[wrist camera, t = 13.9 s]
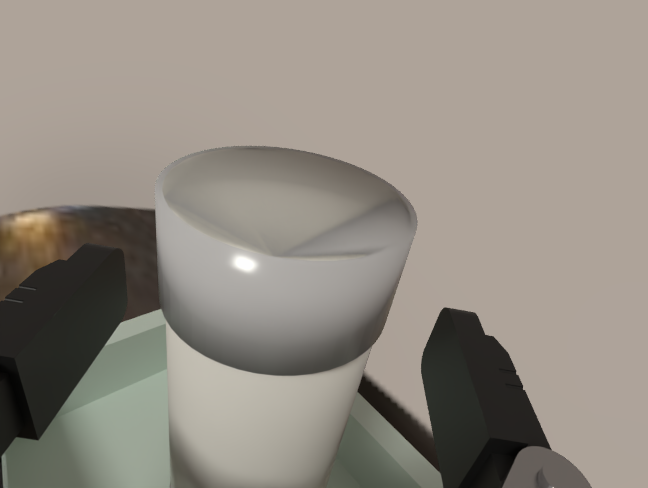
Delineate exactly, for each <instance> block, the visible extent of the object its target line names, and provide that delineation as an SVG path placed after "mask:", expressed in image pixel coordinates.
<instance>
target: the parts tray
mask: <svg viewBox="0 0 648 488" xmlns="http://www.w3.org/2000/svg"><path fill="white" fill-rule="evenodd" d="M5 456H6V463H7V478H8V488H170V452H169V417H168V381H167V346H166V319H165V318H164V315H163V313H162V310H161V309H160V310H157V311H154V312H151V313H148V314H145V315H142V316H139V317H136V318H133V319H130V320H127V321H125V322H122V323H120V324H119V326H118V327H117V328H116V330H115V331H114V333H113V334H112V336H111V337H110V339H109V340H108V341H107V343H106V344H105V346H104V347H103V349H102V350H101V351H100V353H99V354H98V356H97V357H96V359H95V360H94V362H93V363H92V364H91V366H90V367H89V369H88V370H87V372H86V373H85V374H84V376H83V377H82V379H81V380H80V382H79V383H78V385H77V386H76V387H75V389H74V390H73V392H72V393H71V395H70V396H69V397H68V399H67V400H66V402H65V403H64V405H63V406H62V408H61V409H60V410H59V412H58V413H57V415H56V416H55V418H54V419H53V420H52V422H51V423H50V425H49V426H48V428H47V429H46V431H45V432H44V433H43V435H42V436H41V438H40V439H39V441H38V440H31V439H25V438H18V437H16V438H15V439H14V441H13V442H12V443H11V445H10V446H9V447H8V449H7V450H6V451H5ZM326 488H443V483H442V478H441V474H440V473H439V472H438V471H437V470H436V469H435V468H434V467H433V466H432V465H431V464H430V463H429V462H428V461H427V460H426V459H425V458H424V457H423V456H422V455H421V454H420V453H419V452H418V451H417V450H416V449H415V448H414V447H413V446H412V445H411V444H410V443H409V442H408V441H407V440H406V439H405V438H404V437H403V436H402V435H401V434H400V433H399V432H398V431H397V430H396V429H395V428H394V427H393V426H392V425H391V424H390V423H389V422H388V421H386V420H385V419H384V418H383V417H382V416H381V415H380V414H379V413H378V412H377V411H376V410H375V409H374V408H373V407H372V406H371V405H370V404H369V403H368V402H367V401H366V400H365V399H364V398H363V397H362V396H361V395H360V394H359V393H358V392H357V394H356V397H355V400H354V403H353V406H352V409H351V412H350V415H349V418H348V422H347V425H346V428H345V431H344V434H343V437H342V440H341V443H340V446H339V449H338V452H337V456H336V459H335V462H334V465H333V468H332V471H331V474H330V477H329V480H328V483H327V486H326Z"/></svg>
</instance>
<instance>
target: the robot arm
mask: <svg viewBox="0 0 648 488" xmlns="http://www.w3.org/2000/svg"><path fill="white" fill-rule="evenodd" d="M126 307H127V286H126V274H125V262H124V254H123V251H122V250H121V249H119V248H114V247H108V246H102V245H97V244H91V243H86V244H84V245H83V246H82V247H81V248H79V249H78V250H77V251H76V252H75V253H74V254H73V255H72V256H71V257H70V258H69V259H68V260H67V261H66V260H60V259H59V260H57V261H55V262H53V263H50V264H48V265H46V266H44V267H42V268H40V269H38V270H36V271H35V272H34V273H32V274H31V275H30V276H29V277H28V278H27V279H26V280H24V281H23V282H22V283H21V284H20V285H19V288H15V289H14V290H13V291H12V292H11V293H10V294H9V295H7V296H6V297H5V300H4V301H1V302H0V488H8V478H7V463H6V456H5V451H6V450H7V449H8V447H9V446H10V445H11V443H12V442H13V441H14V439H15V438H16V437H18V438H25V439H31V440H38V441H39V439H40V438H41V436H42V435H43V433H44V432H45V431H46V429H47V428H48V426H49V425H50V423H51V422H52V420H53V419H54V418H55V416H56V415H57V413H58V412H59V410H60V409H61V408H62V406H63V405H64V403H65V402H66V400H67V399H68V397H69V396H70V395H71V393H72V392H73V390H74V389H75V387H76V386H77V385H78V383H79V382H80V380H81V379H82V377H83V376H84V374H85V373H86V372H87V370H88V369H89V367H90V366H91V364H92V363H93V362H94V360H95V359H96V357H97V356H98V354H99V353H100V351H101V350H102V349H103V347H104V346H105V344H106V343H107V341H108V340H109V339H110V337H111V336H112V334H113V333H114V331H115V330H116V328H117V327H118V326H119V324H120V323H121V321H122V319H123V317H124V314H125V311H126ZM421 374H422V379H423V384H424V390H425V395H426V400H427V405H428V410H429V415H430V421H431V426H432V431H433V436H434V442H435V447H436V452H437V457H438V462H439V468H440V473H441V478H442V483H443V488H592V487H591V486H590V484H589V482H588V481H587V480H586V478H585V477H584V476H583V474H582V473H581V472H580V471H579V470H578V469H577V467H575V466H574V465H573V464H572V463H571V462H570V461H568V460H567V459H566V458H565V457H563V456H561V455H560V454H558V453H556V452H554V451H552V450H551V448H550V445H549V443H548V441H547V439H546V437H545V434H544V432H543V430H542V428H541V425H540V423H539V421H538V419H537V416H536V414H535V412H534V410H533V407H532V405H531V403H530V401H529V398H528V396H527V394H526V392H525V390H523V385H522V383H521V381H520V378H519V376H518V375H516V370H515V367H514V365H513V363H512V361H511V358H510V356H509V354H508V352H507V351H506V350H505V349H504V348H503V347H502V346H501V345H500V343H499V342H498V341H497V340H496V339H495V338H494V337H493V336H488V335H485V333H484V331H483V328H482V326H481V323H480V321H479V318H478V316H477V315H476V313H473V312H468V311H462V310H457V309H451V308H443V309H442V311H441V312H440V314H439V317H438V319H437V321H436V323H435V326H434V328H433V330H432V333H431V335H430V337H429V340H428V342H427V344H426V347H425V349H424V352H423V356H422V363H421Z"/></svg>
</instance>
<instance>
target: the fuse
mask: <svg viewBox="0 0 648 488" xmlns="http://www.w3.org/2000/svg"><path fill="white" fill-rule="evenodd" d="M155 209H156V236H157V262H158V288H159V301H160V307H161V310H162V313H163V315H164V318H165V319H166V346H167V381H168V417H169V452H170V488H326V486H327V483H328V480H329V477H330V474H331V471H332V468H333V465H334V462H335V459H336V456H337V452H338V449H339V446H340V443H341V440H342V437H343V434H344V431H345V428H346V425H347V422H348V418H349V415H350V412H351V409H352V406H353V403H354V400H355V397H356V394H357V391H358V388H359V385H360V381H361V378H362V375H363V372H364V369H365V366H366V363H367V360H368V357H369V354H370V351H371V347H372V345H373V344H374V343H375V342H376V340H377V339H378V337H379V336H380V334H381V332H382V330H383V328H384V325H385V323H386V319H387V316H388V314H389V310H390V307H391V305H392V301H393V298H394V295H395V293H396V289H397V287H398V284H399V280H400V278H401V274H402V271H403V269H404V266H405V263H406V260H407V257H408V254H409V251H410V248H411V245H412V241H413V239H414V236H415V233H416V229H417V216H416V213H415V210H414V208H413V206H412V205H411V203H410V202H409V201H408V199H407V198H406V197H405V196H404V195H403V194H402V193H401V192H400V191H398V190H397V189H396V188H395V187H394V186H392V185H391V184H389V183H388V182H386V181H385V180H383V179H381V178H380V177H378V176H376V175H374V174H372V173H370V172H368V171H366V170H364V169H362V168H359V167H357V166H355V165H352V164H349V163H346V162H343V161H341V160H337V159H334V158H331V157H327V156H323V155H319V154H315V153H310V152H306V151H300V150H294V149H287V148H279V147H266V146H233V147H222V148H215V149H209V150H204V151H200V152H196V153H193V154H190V155H187V156H185V157H182V158H180V159H178V160H176V161H174V162H173V163H171V164H170V165H168V166H167V167H166V168H165V169H164V170H163V171H162V172H161V173H160V175H159V176H158V179H157V180H156V185H155Z"/></svg>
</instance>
